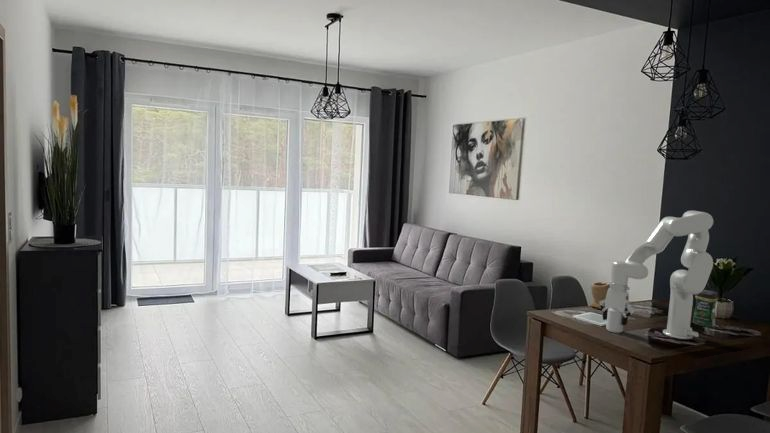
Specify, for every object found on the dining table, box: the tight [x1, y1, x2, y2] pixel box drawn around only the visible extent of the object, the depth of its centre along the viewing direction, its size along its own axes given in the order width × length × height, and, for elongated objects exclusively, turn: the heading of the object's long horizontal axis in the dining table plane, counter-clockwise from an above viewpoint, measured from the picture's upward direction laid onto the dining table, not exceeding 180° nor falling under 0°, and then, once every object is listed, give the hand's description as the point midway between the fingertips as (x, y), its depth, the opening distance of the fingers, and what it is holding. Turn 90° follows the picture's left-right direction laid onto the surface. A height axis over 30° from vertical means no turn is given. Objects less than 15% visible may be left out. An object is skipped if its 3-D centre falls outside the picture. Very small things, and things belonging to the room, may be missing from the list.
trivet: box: [572, 311, 607, 327], centre depth 275 cm, size 16×16×1 cm
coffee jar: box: [691, 288, 719, 328], centre depth 275 cm, size 10×8×19 cm
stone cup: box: [589, 281, 610, 310], centre depth 298 cm, size 15×12×15 cm
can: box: [605, 307, 624, 334], centre depth 256 cm, size 8×8×12 cm
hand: (614, 322), depth 256 cm, fingers open, 9 cm apart
